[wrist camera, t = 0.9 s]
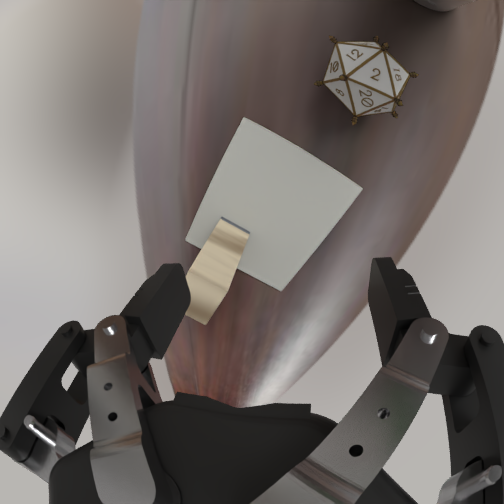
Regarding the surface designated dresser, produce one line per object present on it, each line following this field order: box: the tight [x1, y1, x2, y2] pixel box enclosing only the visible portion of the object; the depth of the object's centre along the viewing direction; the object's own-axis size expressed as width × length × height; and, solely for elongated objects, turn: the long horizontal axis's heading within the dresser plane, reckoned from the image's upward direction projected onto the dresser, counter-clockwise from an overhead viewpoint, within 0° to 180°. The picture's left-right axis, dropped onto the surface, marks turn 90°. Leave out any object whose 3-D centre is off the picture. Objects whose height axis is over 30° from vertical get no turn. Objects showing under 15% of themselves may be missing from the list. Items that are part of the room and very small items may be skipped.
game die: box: [314, 36, 418, 125], centre depth 18 cm, size 9×8×10 cm
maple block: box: [185, 217, 250, 325], centre depth 30 cm, size 6×4×11 cm, turn 153°
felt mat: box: [185, 117, 363, 291], centre depth 32 cm, size 18×15×1 cm
